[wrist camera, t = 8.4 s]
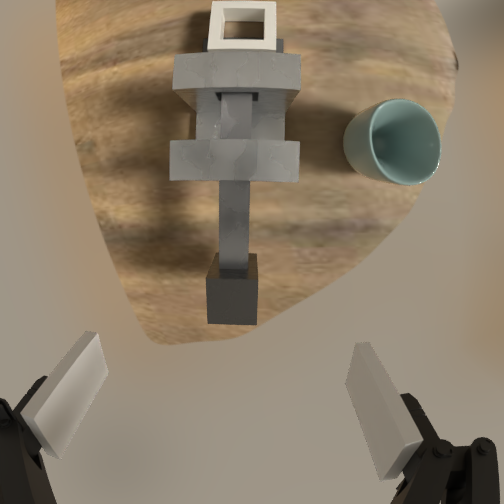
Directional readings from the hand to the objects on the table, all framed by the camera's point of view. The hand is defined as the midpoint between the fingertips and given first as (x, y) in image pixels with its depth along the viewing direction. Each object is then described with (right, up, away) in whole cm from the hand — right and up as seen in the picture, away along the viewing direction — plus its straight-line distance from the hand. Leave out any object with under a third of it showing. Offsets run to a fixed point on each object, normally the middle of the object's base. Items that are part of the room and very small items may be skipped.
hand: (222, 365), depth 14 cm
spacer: (+1, +30, +12) cm, 32 cm away
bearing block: (0, +19, +17) cm, 25 cm away
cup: (+15, +18, +17) cm, 29 cm away
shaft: (0, +12, +14) cm, 18 cm away
